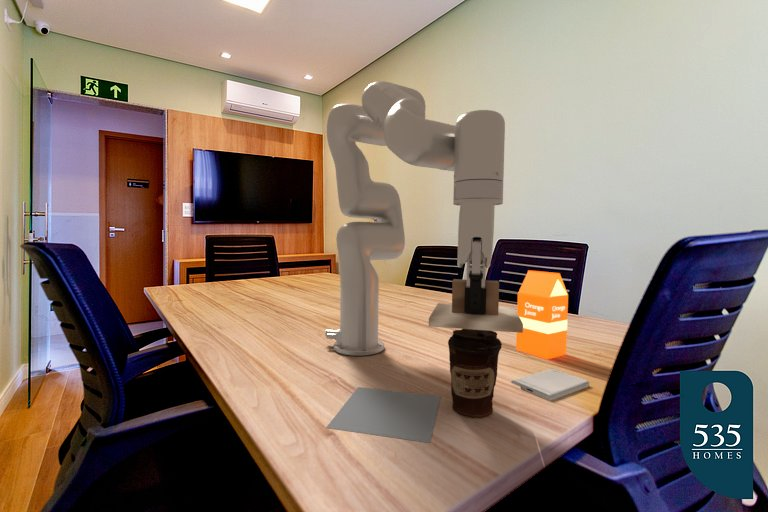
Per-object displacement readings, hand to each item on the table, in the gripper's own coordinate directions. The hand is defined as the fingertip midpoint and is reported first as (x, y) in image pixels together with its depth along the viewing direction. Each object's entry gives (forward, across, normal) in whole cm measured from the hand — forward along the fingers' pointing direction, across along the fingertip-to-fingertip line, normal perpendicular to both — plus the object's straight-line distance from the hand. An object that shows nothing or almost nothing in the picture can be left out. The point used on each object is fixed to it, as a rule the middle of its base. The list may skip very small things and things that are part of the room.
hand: (475, 310), depth 58 cm
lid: (+1, 0, 0) cm, 1 cm away
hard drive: (+17, -15, +14) cm, 27 cm away
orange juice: (+17, -37, +16) cm, 44 cm away
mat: (+16, +4, -13) cm, 21 cm away
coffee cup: (+17, 0, 0) cm, 17 cm away
